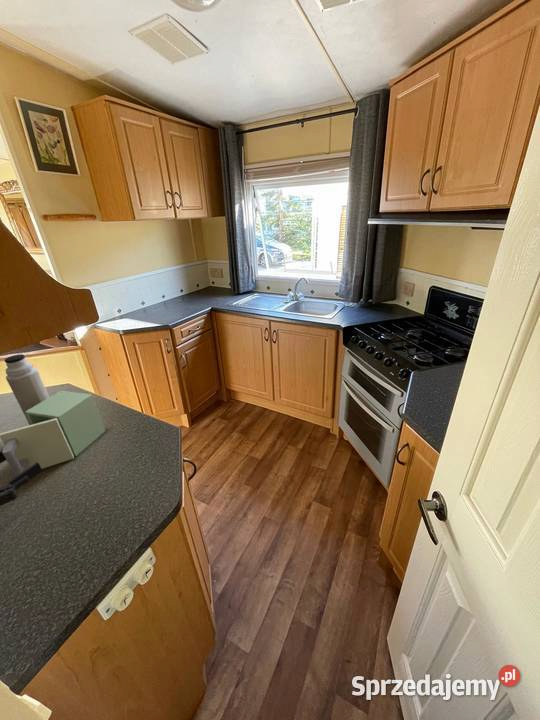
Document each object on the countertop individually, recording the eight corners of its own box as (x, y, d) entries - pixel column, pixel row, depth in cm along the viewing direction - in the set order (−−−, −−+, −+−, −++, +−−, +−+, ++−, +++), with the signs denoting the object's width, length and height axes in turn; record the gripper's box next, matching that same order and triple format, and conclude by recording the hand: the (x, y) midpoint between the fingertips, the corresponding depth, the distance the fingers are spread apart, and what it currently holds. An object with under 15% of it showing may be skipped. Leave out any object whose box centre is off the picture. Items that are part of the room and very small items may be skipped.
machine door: (72, 471, 83) (53, 431, 77) (16, 490, 78) (-9, 449, 72) (74, 456, 88) (56, 417, 82) (22, 473, 83) (-1, 433, 77)
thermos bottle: (29, 433, 100) (-9, 360, 88) (53, 419, 107) (21, 350, 94) (42, 439, 97) (5, 364, 85) (66, 425, 103) (35, 353, 91)
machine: (76, 456, 89) (58, 416, 82) (44, 449, 92) (24, 411, 86) (105, 431, 99) (91, 394, 93) (75, 426, 102) (60, 390, 96)
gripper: (-106, 523, 65) (1, 458, 83) (-48, 567, 56) (59, 483, 73) (-127, 500, 62) (-11, 437, 79) (-69, 542, 53) (48, 461, 70)
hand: (23, 459), depth 77 cm, fingers open, 13 cm apart
